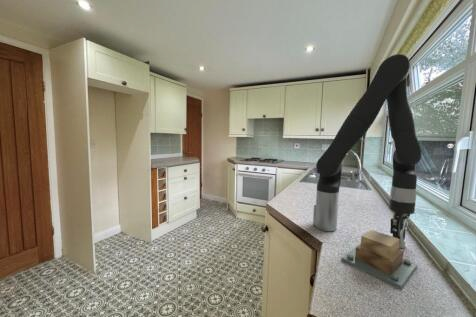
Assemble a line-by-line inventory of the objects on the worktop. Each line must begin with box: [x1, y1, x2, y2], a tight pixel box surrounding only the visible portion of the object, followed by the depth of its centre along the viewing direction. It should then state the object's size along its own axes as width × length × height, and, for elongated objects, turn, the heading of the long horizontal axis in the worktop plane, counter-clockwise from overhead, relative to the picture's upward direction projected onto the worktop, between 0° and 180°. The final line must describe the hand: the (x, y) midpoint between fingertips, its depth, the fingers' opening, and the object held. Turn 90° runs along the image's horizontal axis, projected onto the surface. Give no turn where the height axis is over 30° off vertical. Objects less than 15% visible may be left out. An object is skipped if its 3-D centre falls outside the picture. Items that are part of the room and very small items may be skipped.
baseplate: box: [340, 247, 418, 290], centre depth 65 cm, size 16×16×2 cm
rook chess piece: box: [395, 226, 406, 249], centre depth 77 cm, size 4×4×8 cm
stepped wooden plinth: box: [355, 229, 404, 275], centre depth 65 cm, size 10×10×8 cm
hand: (398, 241), depth 77 cm, fingers open, 5 cm apart
